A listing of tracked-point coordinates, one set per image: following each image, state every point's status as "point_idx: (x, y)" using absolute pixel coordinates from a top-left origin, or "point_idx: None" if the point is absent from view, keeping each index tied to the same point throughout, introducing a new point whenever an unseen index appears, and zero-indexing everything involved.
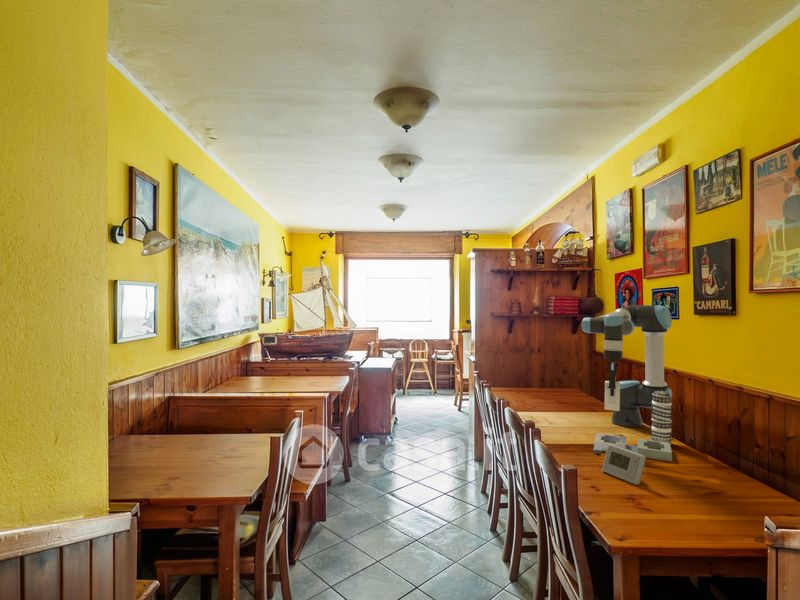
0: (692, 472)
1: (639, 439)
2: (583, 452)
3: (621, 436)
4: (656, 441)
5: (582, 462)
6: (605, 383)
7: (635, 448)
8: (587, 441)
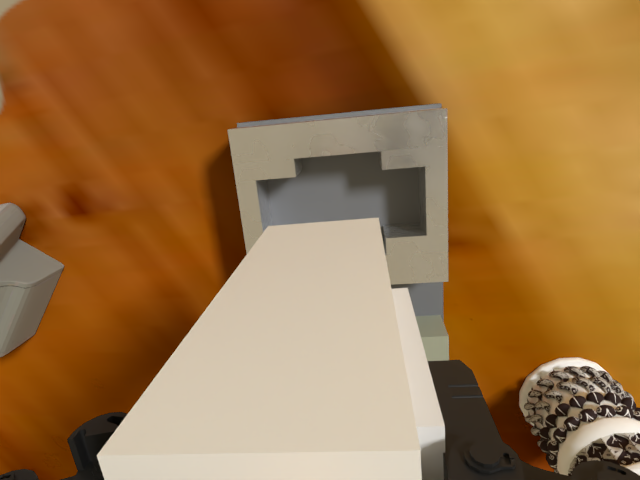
0: None
1: (429, 345)
2: (220, 73)
3: (440, 257)
4: None
5: (64, 102)
6: (120, 444)
7: None
8: (453, 49)
